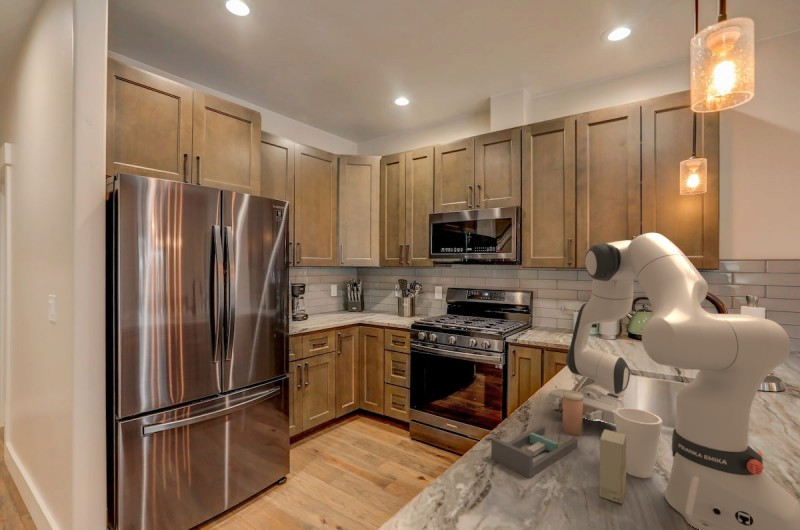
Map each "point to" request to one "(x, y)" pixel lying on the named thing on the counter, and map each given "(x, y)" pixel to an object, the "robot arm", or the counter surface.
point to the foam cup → (639, 439)
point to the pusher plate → (540, 444)
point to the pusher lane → (527, 454)
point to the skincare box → (612, 466)
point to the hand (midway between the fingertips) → (571, 411)
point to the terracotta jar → (572, 412)
